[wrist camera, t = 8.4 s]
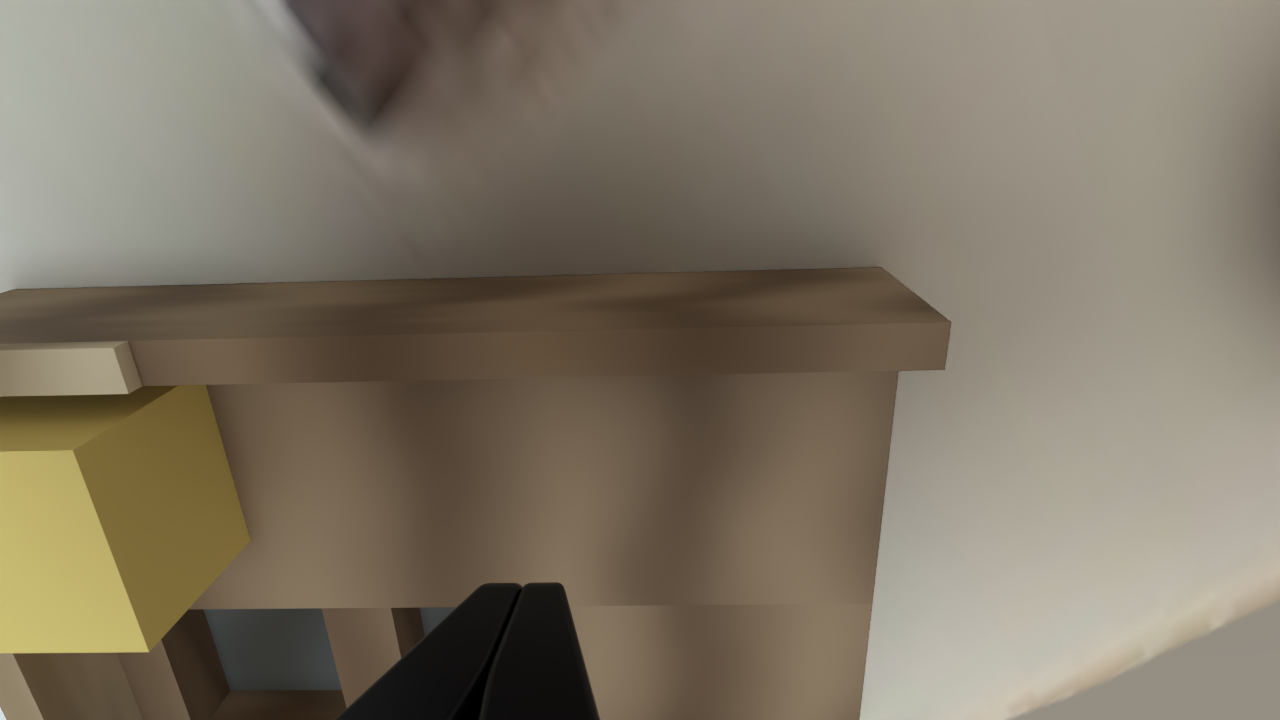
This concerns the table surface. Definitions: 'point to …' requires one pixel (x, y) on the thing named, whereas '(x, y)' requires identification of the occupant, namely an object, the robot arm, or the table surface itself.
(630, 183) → the table surface
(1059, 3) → the table surface
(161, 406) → the block
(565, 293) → the wooden tray
